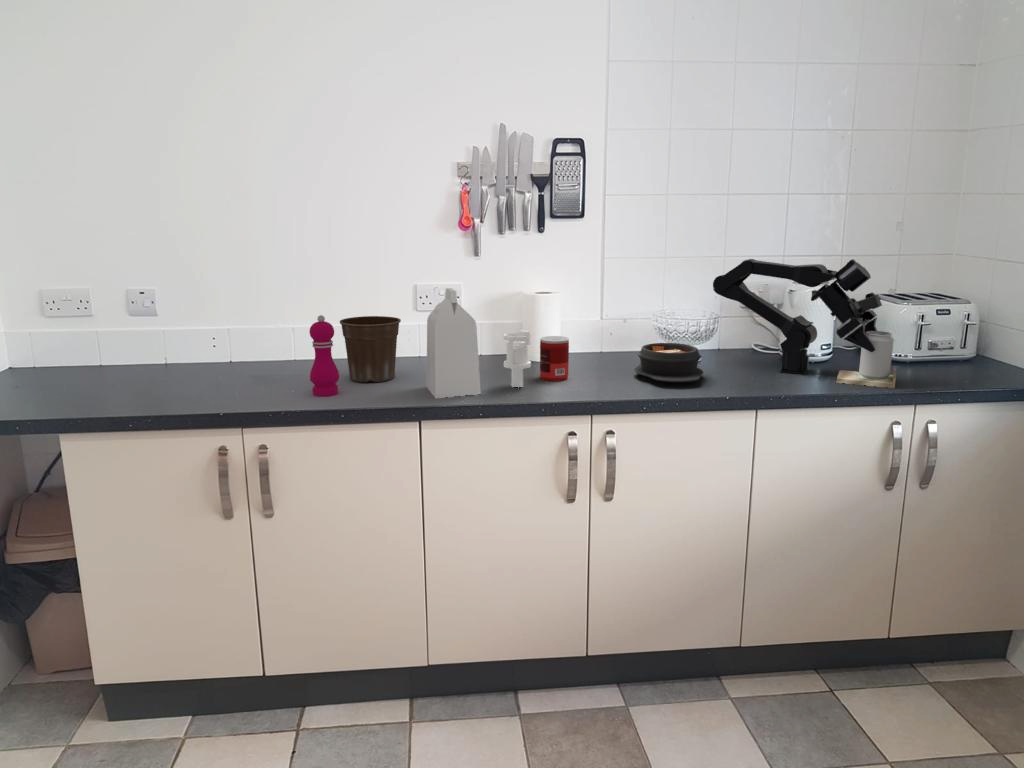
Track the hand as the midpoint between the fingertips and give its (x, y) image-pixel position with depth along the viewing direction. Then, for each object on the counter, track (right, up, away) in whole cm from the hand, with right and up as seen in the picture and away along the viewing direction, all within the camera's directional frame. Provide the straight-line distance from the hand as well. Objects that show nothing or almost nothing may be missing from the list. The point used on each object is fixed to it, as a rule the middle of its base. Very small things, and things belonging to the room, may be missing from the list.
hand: (877, 348), depth 209 cm
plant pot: (-135, -8, +8) cm, 135 cm away
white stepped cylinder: (-95, -10, -2) cm, 96 cm away
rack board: (-2, -9, +3) cm, 9 cm away
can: (0, -8, +2) cm, 8 cm away
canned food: (-85, -8, +8) cm, 86 cm away
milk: (-112, -11, -6) cm, 112 cm away
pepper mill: (-144, -12, -8) cm, 145 cm away
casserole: (-54, -8, +8) cm, 55 cm away
